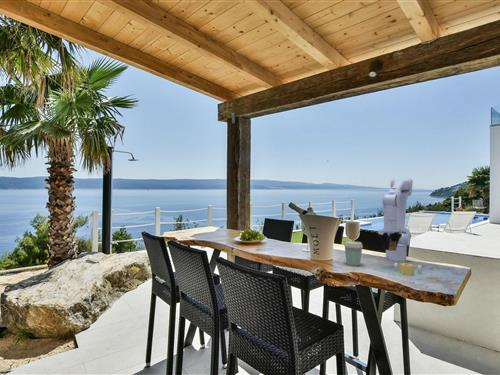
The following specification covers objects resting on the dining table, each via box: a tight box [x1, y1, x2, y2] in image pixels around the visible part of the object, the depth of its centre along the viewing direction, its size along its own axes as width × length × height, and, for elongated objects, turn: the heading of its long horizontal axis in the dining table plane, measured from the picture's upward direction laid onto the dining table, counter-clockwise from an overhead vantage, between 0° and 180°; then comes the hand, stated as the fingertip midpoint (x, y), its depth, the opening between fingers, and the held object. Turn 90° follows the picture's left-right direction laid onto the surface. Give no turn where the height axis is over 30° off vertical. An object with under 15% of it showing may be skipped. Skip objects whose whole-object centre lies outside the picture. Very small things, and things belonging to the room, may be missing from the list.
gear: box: [383, 240, 397, 251], centre depth 142 cm, size 6×5×4 cm
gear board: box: [368, 262, 437, 281], centre depth 135 cm, size 22×16×5 cm
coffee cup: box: [343, 240, 364, 267], centre depth 146 cm, size 8×8×12 cm
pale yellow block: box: [399, 262, 415, 276], centre depth 130 cm, size 6×5×4 cm
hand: (390, 249), depth 142 cm, fingers closed on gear, 5 cm apart
